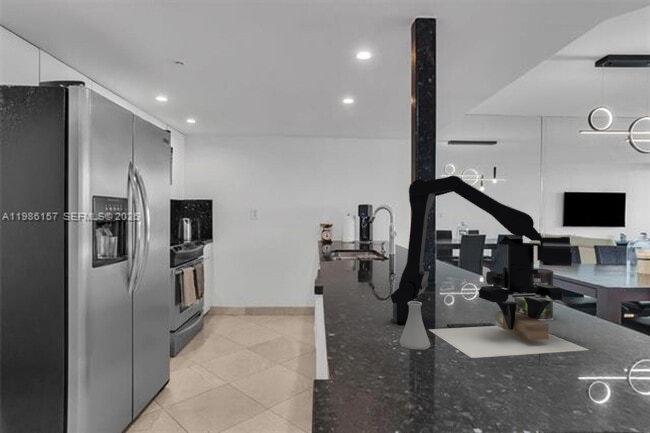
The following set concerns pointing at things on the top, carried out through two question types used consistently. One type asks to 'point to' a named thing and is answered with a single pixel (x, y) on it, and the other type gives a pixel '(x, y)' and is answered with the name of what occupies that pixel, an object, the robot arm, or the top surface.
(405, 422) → the top surface
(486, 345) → the white rectangular board
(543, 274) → the coffee can
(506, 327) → the brown wooden block
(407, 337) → the flask
